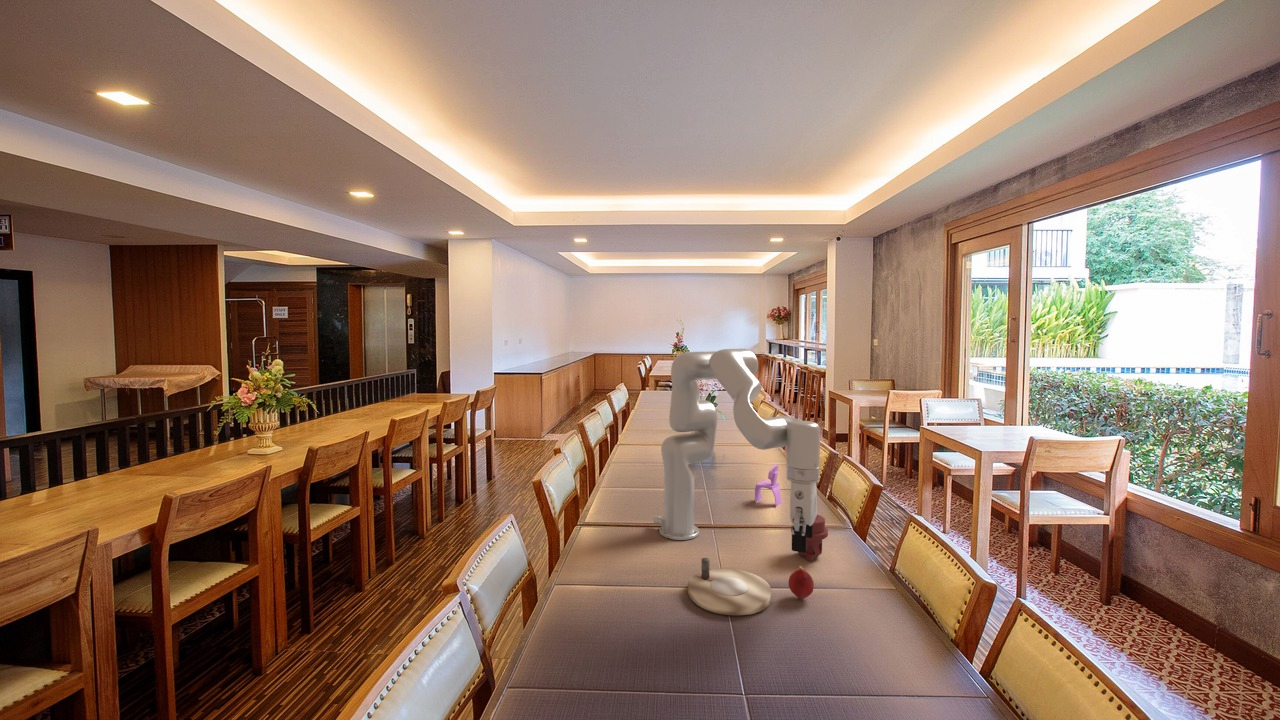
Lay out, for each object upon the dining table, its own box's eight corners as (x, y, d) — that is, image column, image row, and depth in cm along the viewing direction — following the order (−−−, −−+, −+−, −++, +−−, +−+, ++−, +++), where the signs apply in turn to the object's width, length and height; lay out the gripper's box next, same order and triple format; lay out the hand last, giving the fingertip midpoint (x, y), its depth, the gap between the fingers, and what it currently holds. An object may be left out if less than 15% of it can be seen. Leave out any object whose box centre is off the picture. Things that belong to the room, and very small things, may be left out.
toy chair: (761, 498, 205) (762, 459, 204) (783, 502, 200) (784, 463, 199) (752, 504, 199) (753, 464, 198) (775, 508, 193) (775, 467, 193)
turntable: (743, 625, 116) (744, 596, 115) (671, 595, 129) (671, 569, 129) (785, 591, 131) (786, 565, 130) (717, 567, 144) (717, 544, 144)
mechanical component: (824, 550, 156) (829, 565, 147) (789, 547, 158) (792, 562, 149) (825, 509, 156) (830, 521, 146) (790, 507, 158) (792, 518, 148)
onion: (813, 595, 130) (814, 563, 130) (813, 606, 125) (813, 573, 124) (789, 591, 132) (789, 560, 131) (787, 602, 126) (788, 569, 126)
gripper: (814, 484, 117) (813, 560, 118) (824, 466, 133) (823, 534, 133) (779, 480, 120) (779, 554, 121) (793, 463, 136) (792, 529, 137)
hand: (802, 543), depth 127 cm, fingers open, 9 cm apart
